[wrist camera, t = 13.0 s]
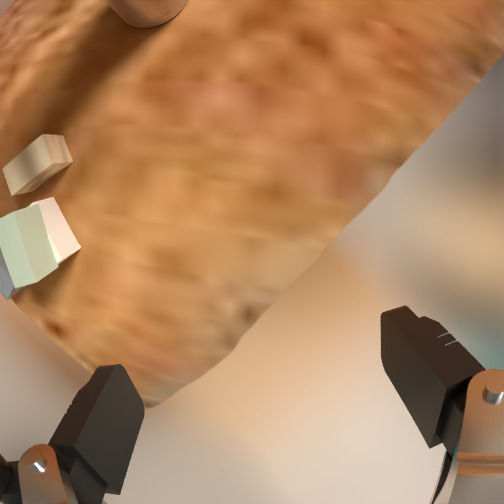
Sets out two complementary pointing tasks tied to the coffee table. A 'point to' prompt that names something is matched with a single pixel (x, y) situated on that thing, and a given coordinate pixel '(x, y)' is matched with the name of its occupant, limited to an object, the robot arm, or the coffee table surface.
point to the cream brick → (57, 230)
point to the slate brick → (6, 280)
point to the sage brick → (26, 246)
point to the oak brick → (37, 163)
